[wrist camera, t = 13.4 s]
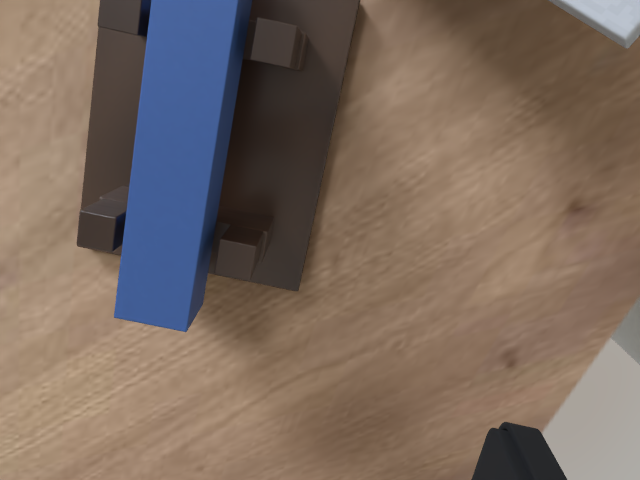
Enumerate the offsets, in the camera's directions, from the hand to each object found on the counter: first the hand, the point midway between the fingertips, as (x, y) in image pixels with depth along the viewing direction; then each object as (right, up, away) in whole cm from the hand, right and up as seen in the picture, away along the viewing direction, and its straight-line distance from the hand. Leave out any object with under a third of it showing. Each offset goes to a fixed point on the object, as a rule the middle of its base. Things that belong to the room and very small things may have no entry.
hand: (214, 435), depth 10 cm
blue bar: (-4, +8, +16) cm, 18 cm away
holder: (-4, +9, +20) cm, 22 cm away
